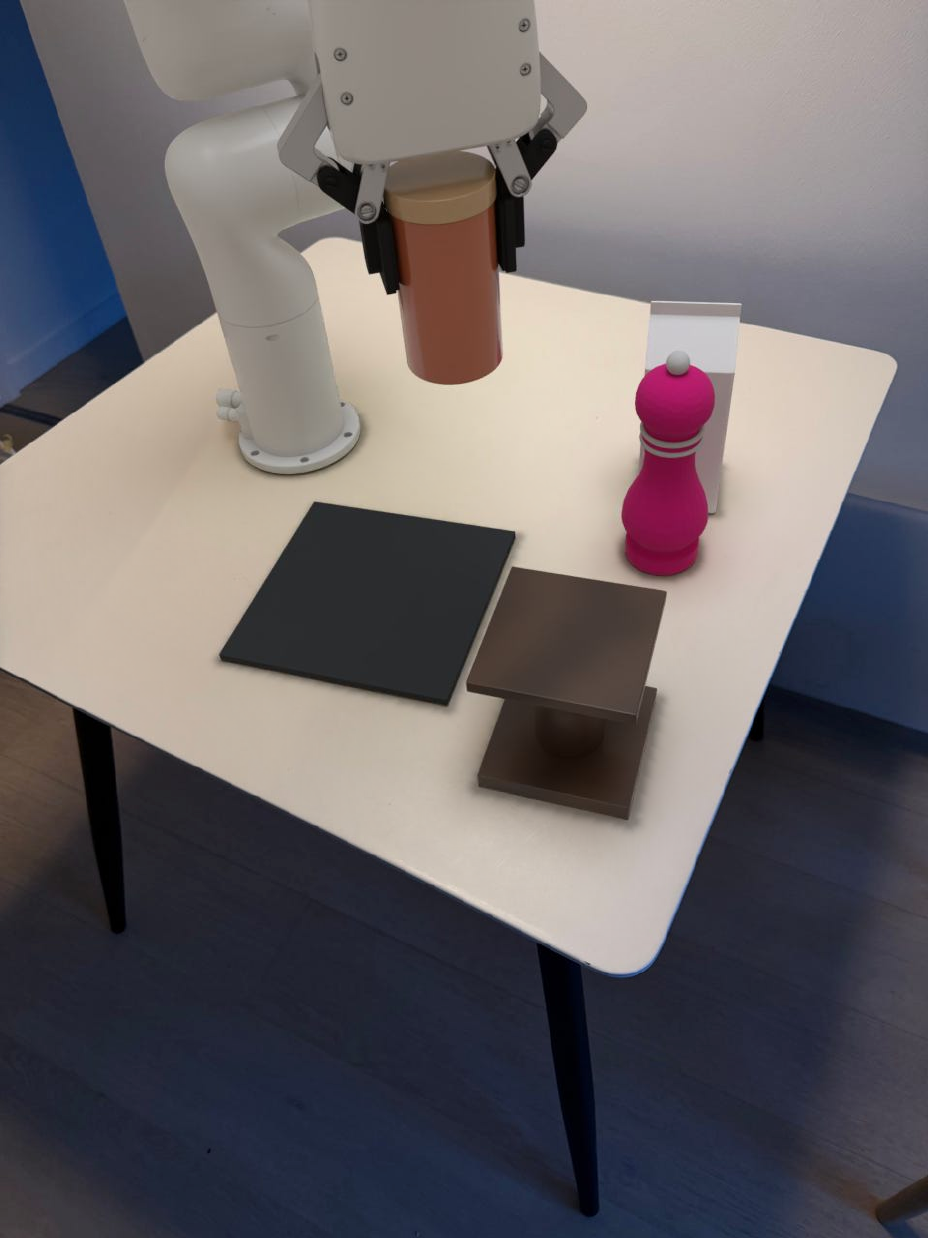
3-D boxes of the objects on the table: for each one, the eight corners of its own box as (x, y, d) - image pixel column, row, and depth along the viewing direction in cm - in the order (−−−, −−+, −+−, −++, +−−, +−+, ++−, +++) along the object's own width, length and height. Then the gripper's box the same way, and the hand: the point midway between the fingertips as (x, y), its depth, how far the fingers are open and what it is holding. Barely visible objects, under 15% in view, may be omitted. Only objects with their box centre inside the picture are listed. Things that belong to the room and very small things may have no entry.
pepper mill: (682, 590, 84) (706, 389, 69) (605, 563, 87) (612, 365, 72) (715, 539, 88) (744, 339, 73) (640, 515, 91) (654, 318, 76)
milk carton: (715, 515, 90) (741, 327, 76) (636, 509, 91) (647, 324, 77) (717, 466, 95) (742, 281, 81) (642, 461, 96) (654, 279, 82)
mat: (220, 660, 83) (218, 654, 82) (315, 507, 95) (314, 500, 95) (447, 706, 77) (446, 700, 77) (515, 537, 90) (515, 531, 89)
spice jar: (391, 380, 56) (363, 196, 49) (423, 325, 60) (403, 146, 52) (488, 391, 55) (476, 204, 47) (516, 335, 59) (509, 152, 51)
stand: (478, 787, 72) (465, 682, 63) (518, 674, 79) (511, 565, 70) (628, 820, 69) (636, 715, 60) (656, 700, 76) (667, 590, 67)
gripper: (584, -186, 44) (578, 213, 57) (193, -133, 42) (282, 266, 55) (642, -154, 39) (621, 276, 52) (201, -91, 37) (296, 336, 50)
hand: (446, 268), depth 53 cm, fingers closed on spice jar, 5 cm apart
